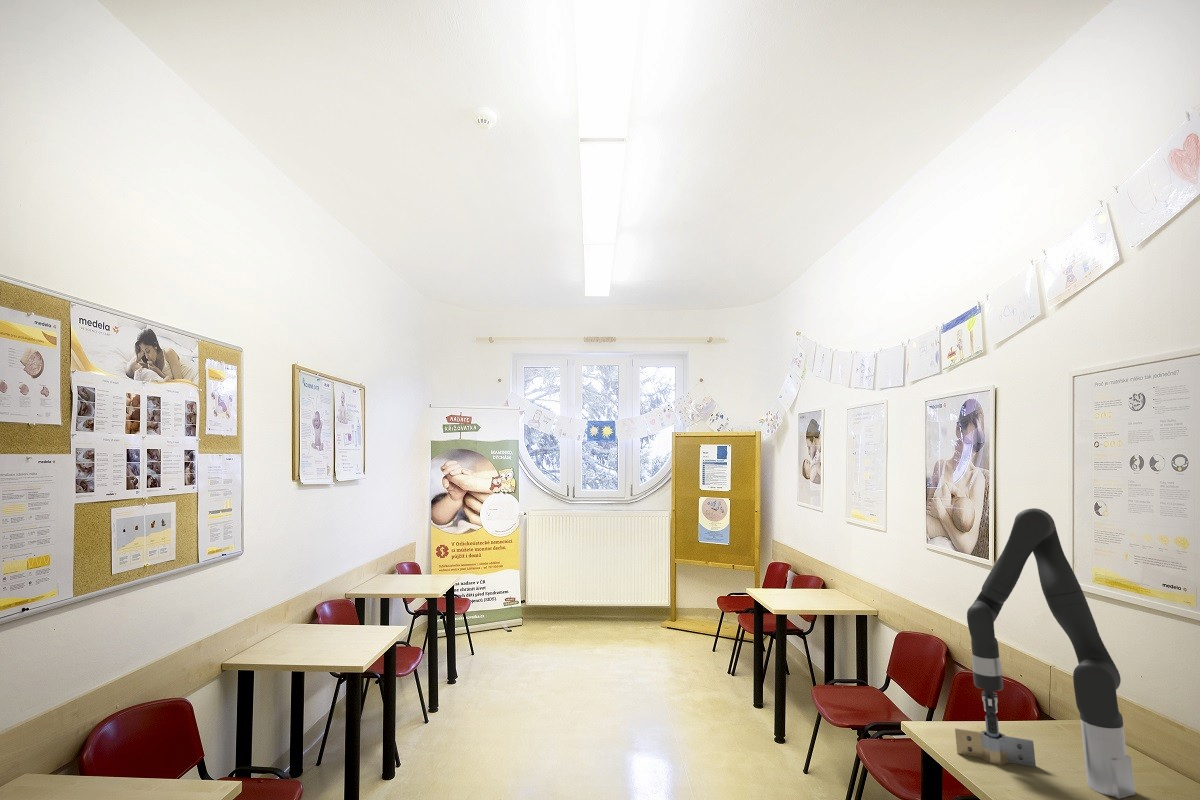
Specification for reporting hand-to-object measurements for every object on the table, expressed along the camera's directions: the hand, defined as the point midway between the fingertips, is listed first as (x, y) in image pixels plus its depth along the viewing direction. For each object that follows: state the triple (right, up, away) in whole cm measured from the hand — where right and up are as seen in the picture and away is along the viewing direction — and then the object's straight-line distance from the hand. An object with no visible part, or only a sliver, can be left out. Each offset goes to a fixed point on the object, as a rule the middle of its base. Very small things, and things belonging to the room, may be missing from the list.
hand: (992, 727), depth 189 cm
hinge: (0, -9, -1) cm, 9 cm away
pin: (0, -9, -1) cm, 9 cm away
